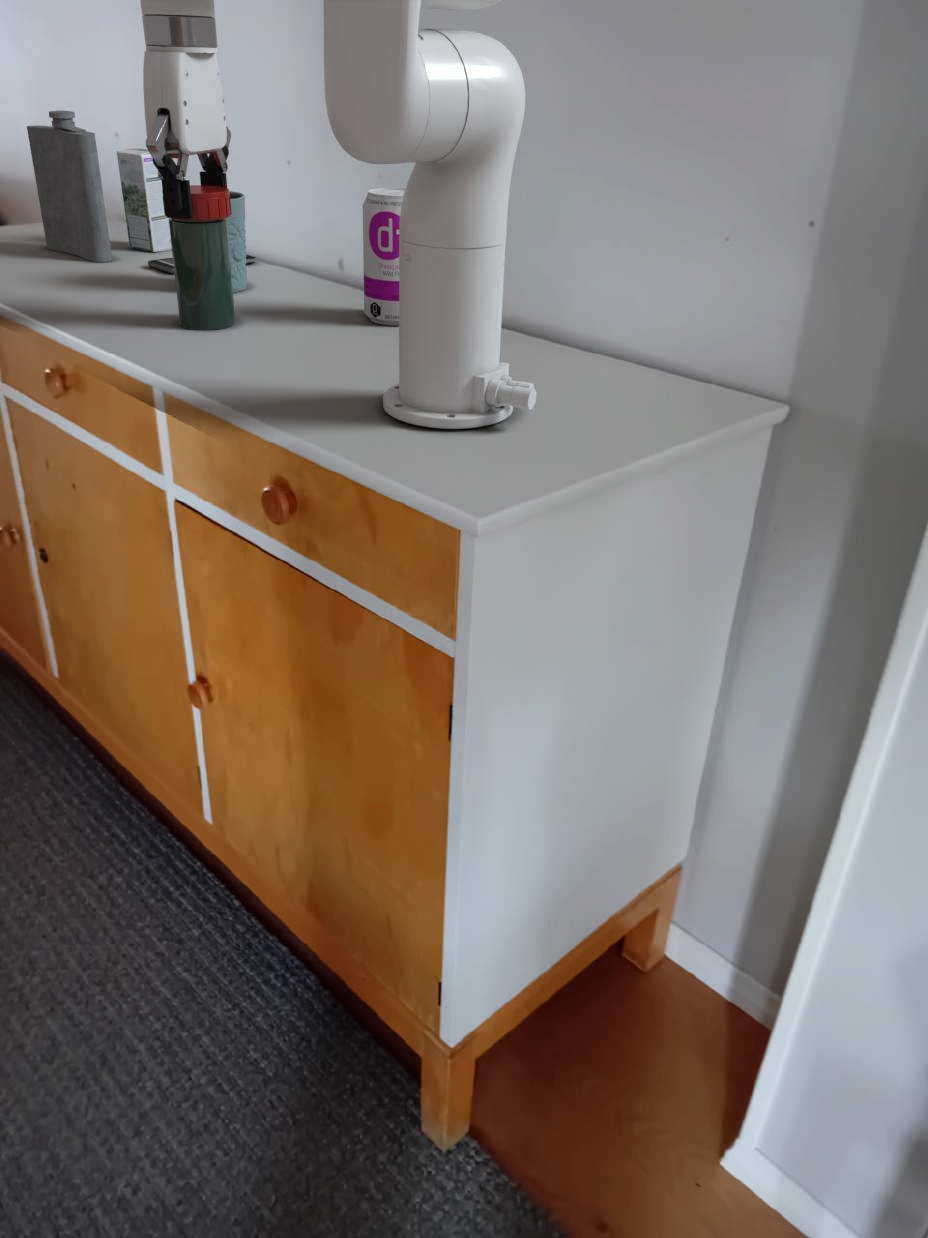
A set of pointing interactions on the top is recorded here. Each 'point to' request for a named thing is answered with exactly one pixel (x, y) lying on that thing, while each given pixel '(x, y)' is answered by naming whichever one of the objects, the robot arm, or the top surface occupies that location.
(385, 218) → the supplement can
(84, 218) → the hip flask
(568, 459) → the top surface
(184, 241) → the jar
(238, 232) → the embossed blue cup
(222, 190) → the lid
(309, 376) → the top surface
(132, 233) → the syrup box
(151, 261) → the smartphone
